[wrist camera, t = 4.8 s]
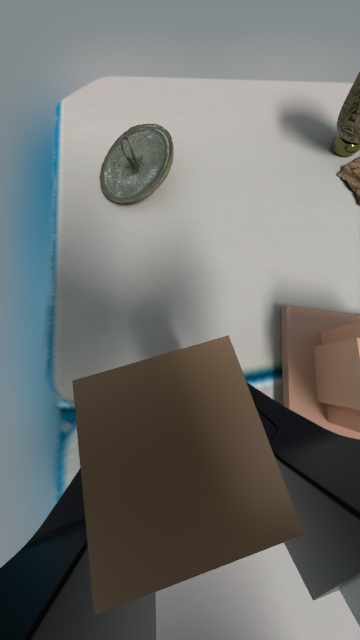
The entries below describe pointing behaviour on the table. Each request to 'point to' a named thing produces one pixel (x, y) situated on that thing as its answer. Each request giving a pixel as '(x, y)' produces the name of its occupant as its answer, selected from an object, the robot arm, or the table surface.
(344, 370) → the terracotta holder
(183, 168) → the table surface
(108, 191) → the lid
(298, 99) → the table surface
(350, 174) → the wooden fragment
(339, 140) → the cup
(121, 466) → the brown wooden block
